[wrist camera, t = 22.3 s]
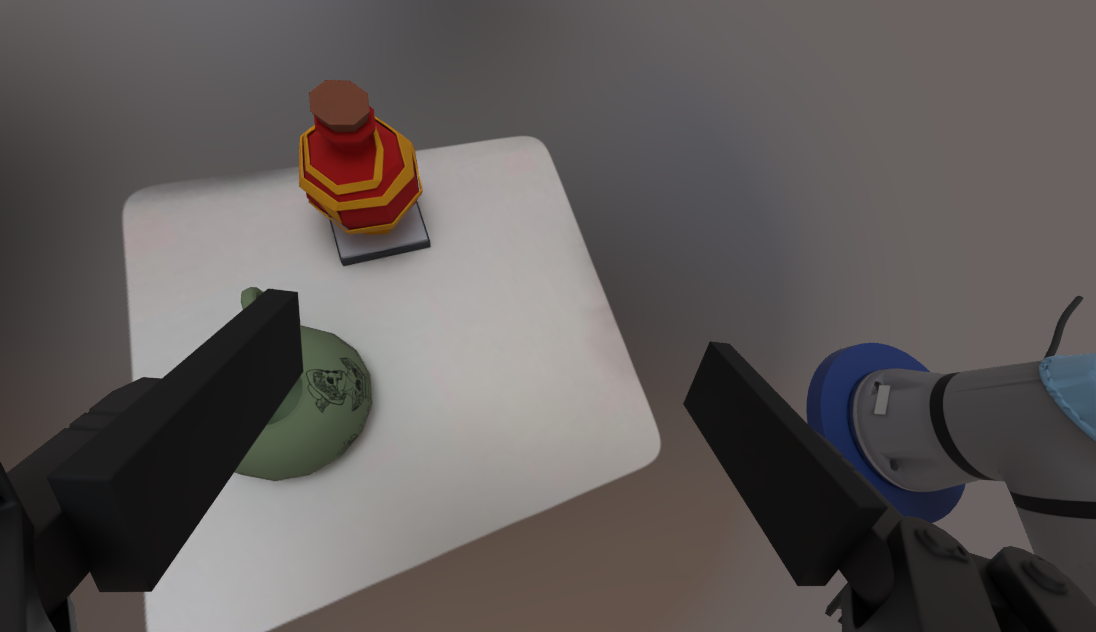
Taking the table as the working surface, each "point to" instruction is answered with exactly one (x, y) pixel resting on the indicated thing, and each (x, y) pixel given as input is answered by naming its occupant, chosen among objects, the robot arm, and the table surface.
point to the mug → (312, 409)
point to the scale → (382, 239)
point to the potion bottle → (356, 162)
